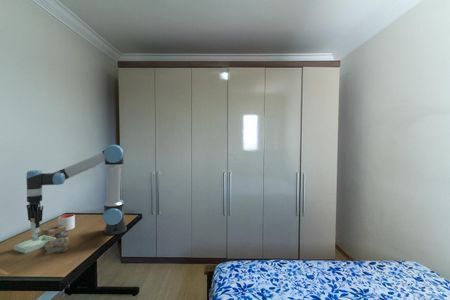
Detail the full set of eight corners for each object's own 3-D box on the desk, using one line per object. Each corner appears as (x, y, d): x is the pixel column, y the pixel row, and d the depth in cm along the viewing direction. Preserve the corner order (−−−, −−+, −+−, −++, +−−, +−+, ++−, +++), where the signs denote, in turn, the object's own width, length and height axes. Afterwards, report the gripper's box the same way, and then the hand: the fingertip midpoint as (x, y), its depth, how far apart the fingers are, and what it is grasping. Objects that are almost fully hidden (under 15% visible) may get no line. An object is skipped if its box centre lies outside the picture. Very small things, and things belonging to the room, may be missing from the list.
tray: (56, 242, 155) (56, 237, 155) (25, 253, 139) (25, 248, 139) (44, 239, 160) (44, 235, 160) (13, 250, 144) (13, 245, 144)
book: (49, 245, 151) (48, 238, 151) (69, 242, 156) (69, 234, 156) (44, 255, 138) (44, 246, 138) (67, 251, 144) (67, 243, 143)
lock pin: (40, 239, 150) (40, 217, 150) (33, 241, 147) (33, 219, 146) (37, 238, 152) (36, 216, 151) (29, 240, 148) (29, 218, 148)
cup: (77, 227, 183) (77, 214, 183) (68, 232, 173) (67, 218, 173) (65, 226, 184) (65, 213, 184) (55, 231, 174) (55, 218, 174)
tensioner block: (72, 235, 167) (72, 228, 167) (57, 240, 158) (57, 233, 158) (56, 231, 174) (56, 224, 174) (42, 236, 164) (41, 229, 164)
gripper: (48, 195, 149) (49, 231, 149) (33, 192, 155) (34, 228, 155) (35, 197, 142) (36, 236, 143) (20, 195, 148) (21, 232, 149)
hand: (35, 232), depth 149 cm, fingers closed on lock pin, 2 cm apart
